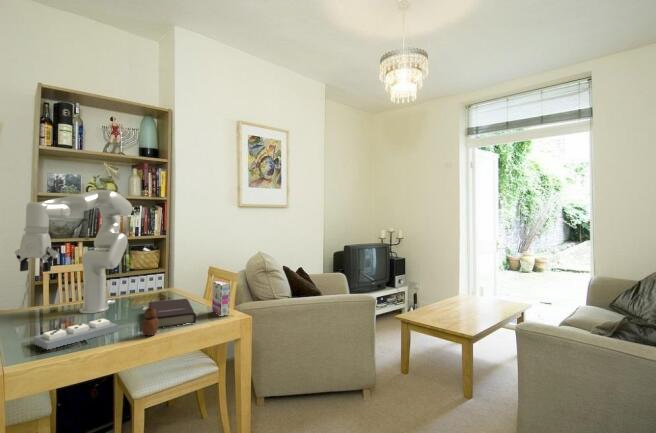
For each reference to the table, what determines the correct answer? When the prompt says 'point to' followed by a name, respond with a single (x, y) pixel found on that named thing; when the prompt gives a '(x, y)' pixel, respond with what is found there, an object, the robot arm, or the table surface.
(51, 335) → the three dot tile
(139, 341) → the table surface
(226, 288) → the candy bar box
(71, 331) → the two dot tile
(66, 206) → the robot arm
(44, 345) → the tile board
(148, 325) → the wooden figurine
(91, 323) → the one dot tile
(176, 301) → the book
